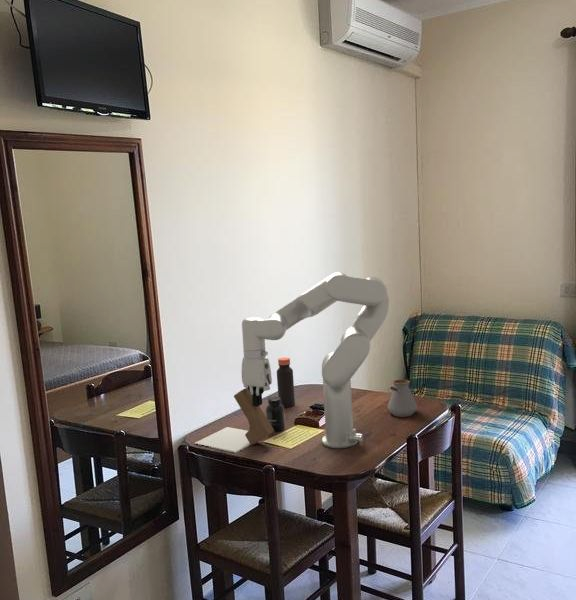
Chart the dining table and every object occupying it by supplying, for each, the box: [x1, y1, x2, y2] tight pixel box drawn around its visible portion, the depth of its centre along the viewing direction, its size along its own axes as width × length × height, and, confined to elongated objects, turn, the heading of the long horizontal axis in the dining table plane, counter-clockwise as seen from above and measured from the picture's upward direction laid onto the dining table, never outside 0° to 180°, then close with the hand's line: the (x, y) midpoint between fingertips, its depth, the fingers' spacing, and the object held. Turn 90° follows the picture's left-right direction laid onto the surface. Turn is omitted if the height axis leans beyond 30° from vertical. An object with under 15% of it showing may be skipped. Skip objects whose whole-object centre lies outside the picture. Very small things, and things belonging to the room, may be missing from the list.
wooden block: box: [233, 387, 275, 446], centre depth 214 cm, size 9×4×18 cm
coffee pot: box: [387, 378, 418, 418], centre depth 232 cm, size 21×12×15 cm, turn 155°
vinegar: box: [276, 357, 296, 408], centre depth 256 cm, size 7×7×20 cm
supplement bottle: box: [265, 396, 286, 433], centre depth 228 cm, size 7×7×12 cm
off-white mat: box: [194, 426, 251, 454], centre depth 220 cm, size 19×18×1 cm
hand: (257, 405), depth 212 cm, fingers closed
